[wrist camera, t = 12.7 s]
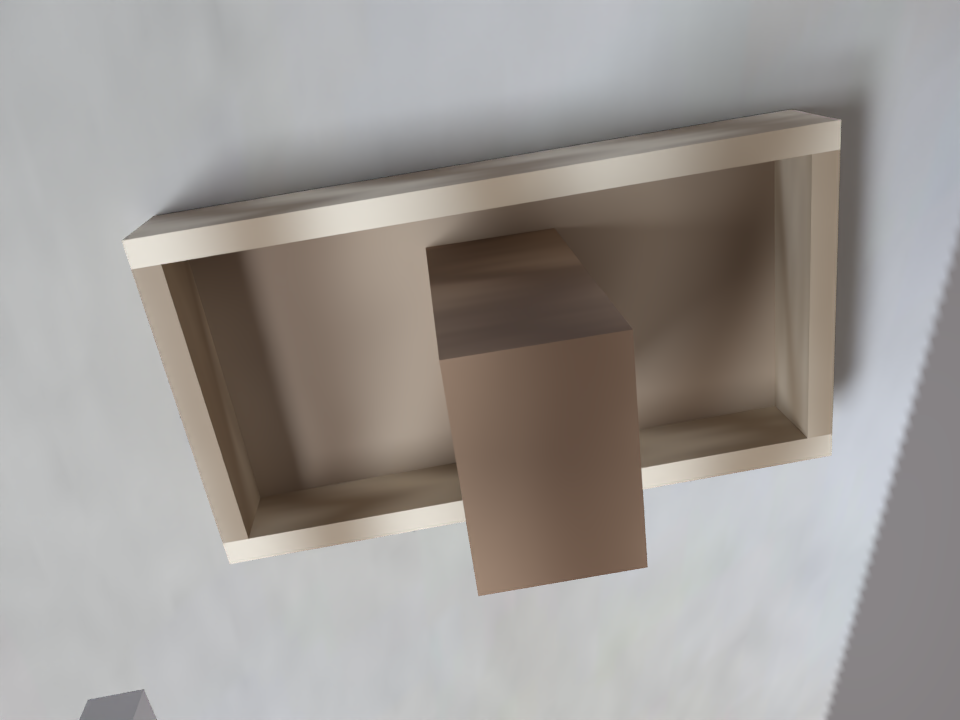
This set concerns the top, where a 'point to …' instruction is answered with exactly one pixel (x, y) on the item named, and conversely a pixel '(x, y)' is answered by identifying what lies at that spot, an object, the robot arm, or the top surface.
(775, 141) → the open wooden box
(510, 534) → the tan wooden block
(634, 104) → the top surface
